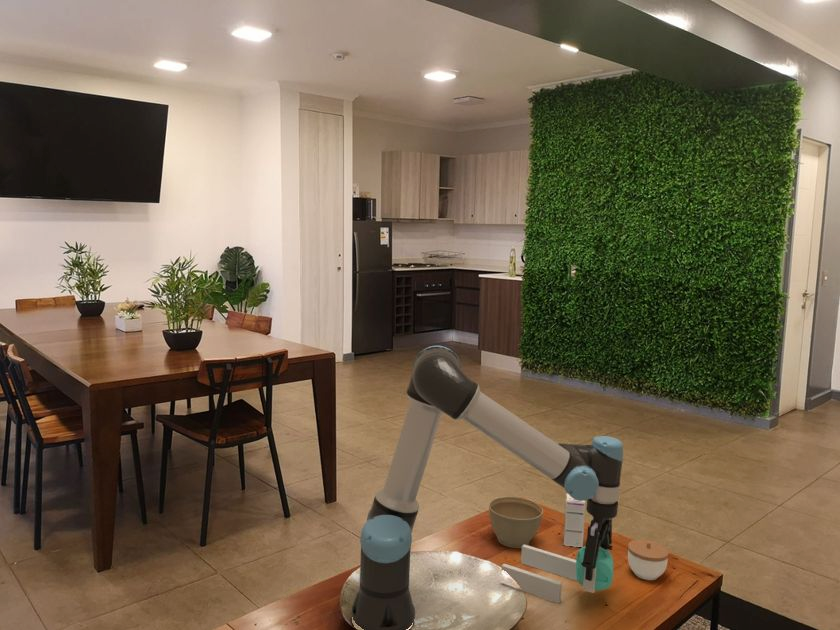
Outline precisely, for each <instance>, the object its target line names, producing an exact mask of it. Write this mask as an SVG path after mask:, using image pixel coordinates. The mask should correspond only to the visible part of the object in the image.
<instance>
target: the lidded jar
mask: <svg viewBox="0 0 840 630" xmlns="http://www.w3.org/2000/svg"><path fill="white" fill-rule="evenodd" d="M669 556H670V551H669V549H668V548H667V547H666V546H664V545H662V544H661V543H660V542H659V543H658V542H656V541H652V540H649V539H634V540H631V541H629V543H627V562H628V564H629V567H630V569H631V570H632V572H633V573H634V575H635V576H636V577H638V579H642V580H644V581H656V580H657V579H658V578H659V577H661V576H662V575H663V574H664V573H665V571H666V569H667V565H668V562H669V561H668V560H669Z"/></svg>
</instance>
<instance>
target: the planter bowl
mask: <svg viewBox="0 0 840 630" xmlns="http://www.w3.org/2000/svg"><path fill="white" fill-rule="evenodd" d="M488 509H489V512H488V514H489V521H490V525H491V528H492V529H493V532H494V534H495V535H496V538H497V540H498V541H497V542H499V544H501V545H502V546H504V547H508V548H511V549H512V548H513V549H522V546H523V545H524V544H525V545H528V546H529V544H530V541H531V540H532V539H533V538H534V537H535V536H536V534H537V533H538V530H539V529H540V525H541V524H542V517H543V514H544V510H543V507H542V506H540V505H539V503H536V502H535V501H533V500H531V499H529V498H528V499H527V498H525V497H524V498H523V497H519V496H500V497H497V498H494V499H491V501H490V502H489V503H488Z"/></svg>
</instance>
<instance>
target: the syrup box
mask: <svg viewBox="0 0 840 630" xmlns="http://www.w3.org/2000/svg"><path fill="white" fill-rule="evenodd" d="M564 504H565V507H564V508H565V509H564V523H563V524H564V526H563V546H564V545H565V547H569V546H573V547H572V548H576V547H584V536H585V534H584V532H585V517H586V515H585V514H586V500H585V501H579V500H576V499H574V498H572V497H571V496H570V495H569V494H568V493H566V494H565V503H564Z"/></svg>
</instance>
